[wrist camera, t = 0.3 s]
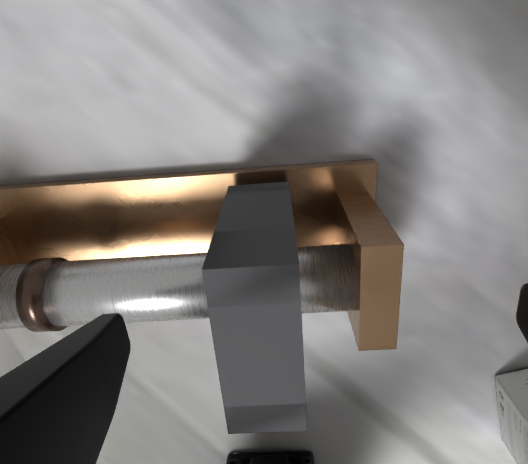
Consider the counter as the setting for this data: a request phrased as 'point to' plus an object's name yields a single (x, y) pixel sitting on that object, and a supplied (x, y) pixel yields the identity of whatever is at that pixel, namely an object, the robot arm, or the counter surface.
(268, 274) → the collar
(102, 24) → the counter surface
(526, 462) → the skincare box
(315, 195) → the pipe rig
